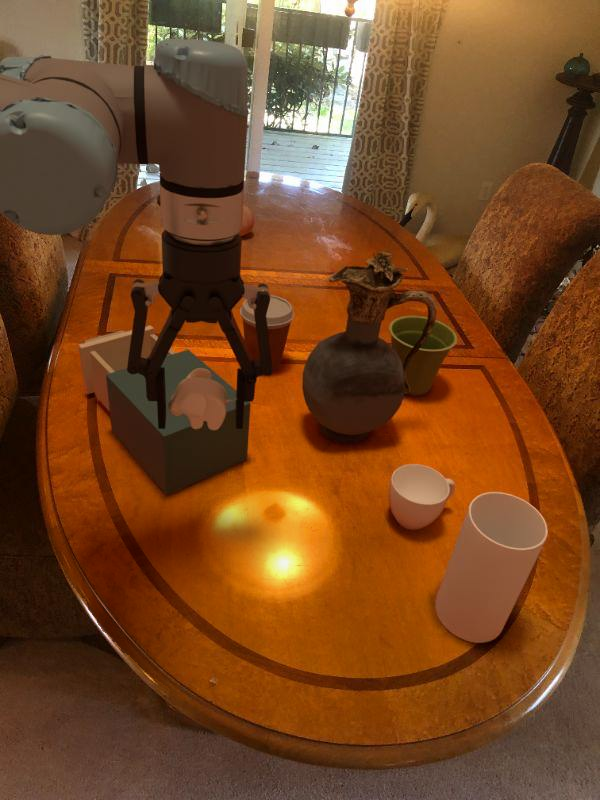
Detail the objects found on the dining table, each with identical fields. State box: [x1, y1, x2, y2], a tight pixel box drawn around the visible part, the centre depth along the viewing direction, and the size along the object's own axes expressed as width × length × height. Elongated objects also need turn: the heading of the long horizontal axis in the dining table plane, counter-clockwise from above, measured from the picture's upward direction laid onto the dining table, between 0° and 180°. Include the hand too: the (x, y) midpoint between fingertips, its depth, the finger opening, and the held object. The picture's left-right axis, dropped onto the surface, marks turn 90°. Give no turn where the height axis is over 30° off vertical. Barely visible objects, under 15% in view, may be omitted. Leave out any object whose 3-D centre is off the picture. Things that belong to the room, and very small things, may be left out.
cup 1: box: [388, 463, 456, 531], centre depth 84 cm, size 8×10×7 cm
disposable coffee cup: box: [239, 294, 295, 373], centre depth 111 cm, size 10×10×12 cm
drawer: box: [78, 324, 176, 413], centre depth 98 cm, size 21×12×9 cm, turn 40°
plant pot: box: [388, 315, 458, 396], centre depth 110 cm, size 12×12×11 cm
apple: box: [239, 204, 255, 237], centre depth 162 cm, size 8×8×8 cm
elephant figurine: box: [166, 368, 237, 430], centre depth 70 cm, size 7×8×6 cm
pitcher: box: [301, 251, 438, 444], centre depth 92 cm, size 11×19×30 cm, turn 104°
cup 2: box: [434, 491, 549, 644], centre depth 69 cm, size 8×8×16 cm
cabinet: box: [106, 349, 252, 497], centre depth 90 cm, size 17×14×11 cm
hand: (201, 421), depth 71 cm, fingers closed on elephant figurine, 8 cm apart
